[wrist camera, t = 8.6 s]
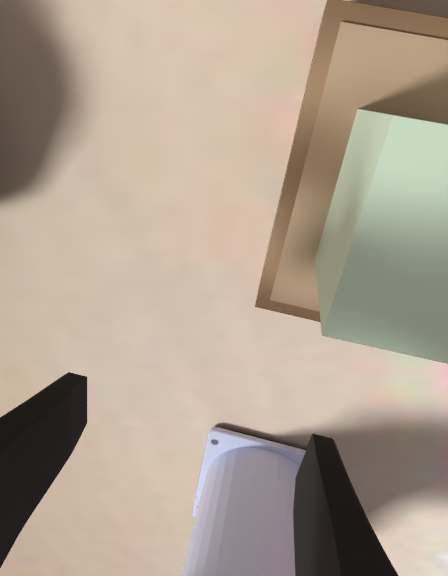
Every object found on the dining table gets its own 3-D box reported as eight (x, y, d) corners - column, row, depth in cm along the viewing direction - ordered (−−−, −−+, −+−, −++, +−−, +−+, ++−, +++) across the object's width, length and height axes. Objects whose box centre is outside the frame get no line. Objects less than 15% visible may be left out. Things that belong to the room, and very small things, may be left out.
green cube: (457, 290, 16) (534, 383, 11) (314, 260, 17) (321, 335, 12) (530, 139, 14) (678, 165, 8) (357, 108, 14) (392, 115, 9)
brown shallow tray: (449, 323, 20) (473, 359, 18) (260, 280, 21) (254, 308, 18) (583, 59, 15) (649, 51, 12) (323, 14, 16) (328, -4, 13)
